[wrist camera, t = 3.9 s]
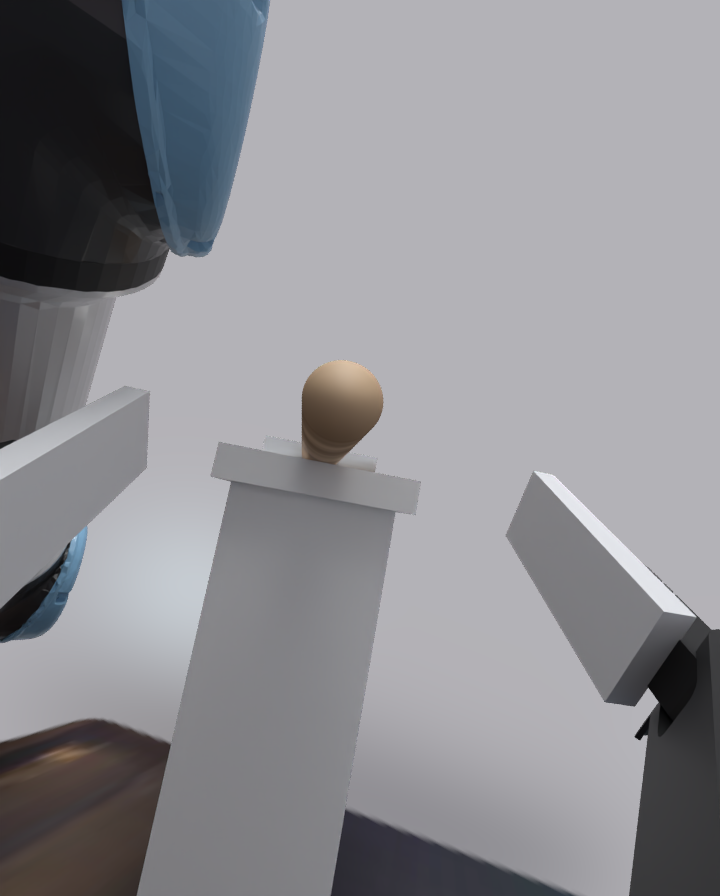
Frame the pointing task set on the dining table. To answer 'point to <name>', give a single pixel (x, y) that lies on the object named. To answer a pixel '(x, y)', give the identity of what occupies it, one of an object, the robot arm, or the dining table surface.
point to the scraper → (335, 416)
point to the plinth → (275, 680)
